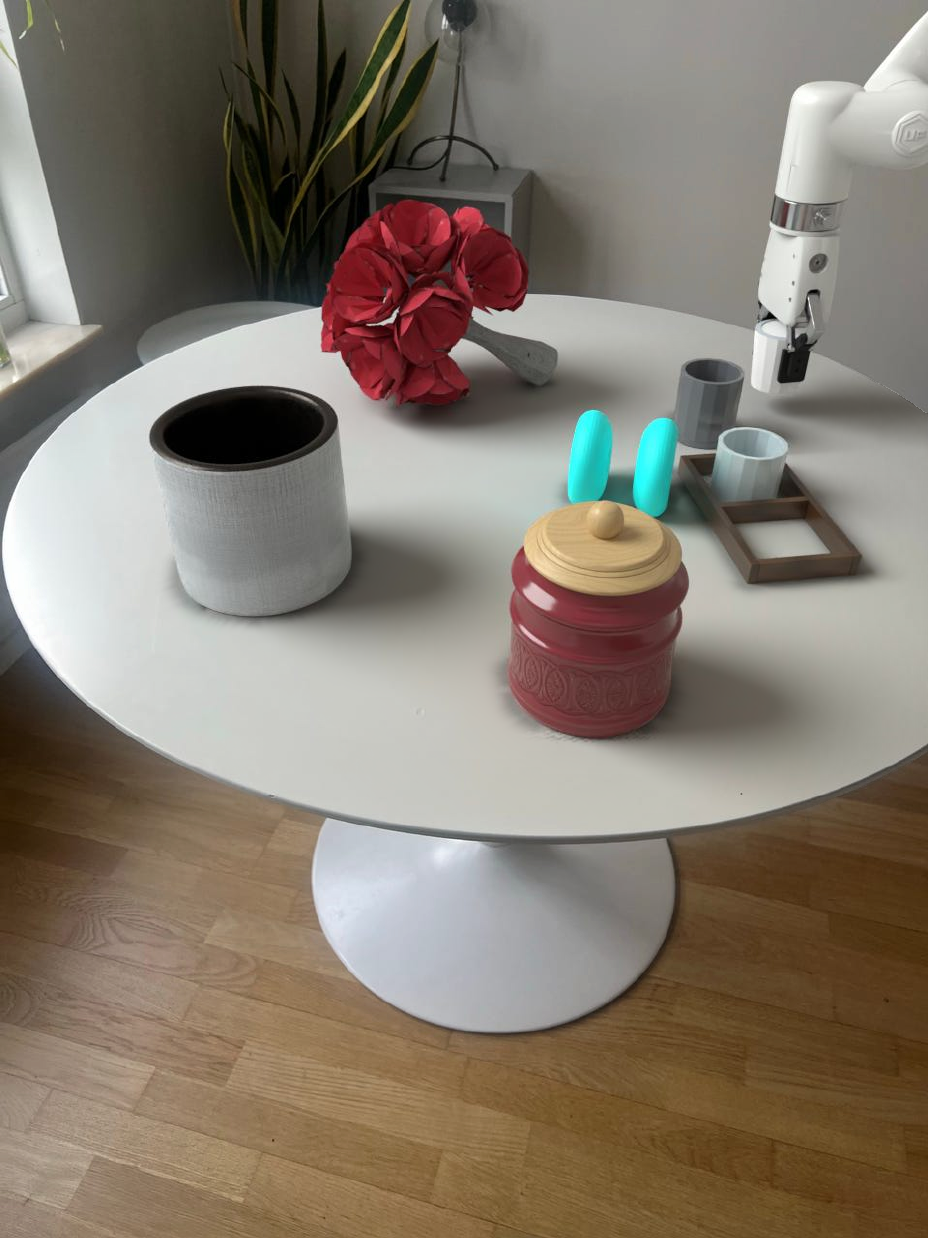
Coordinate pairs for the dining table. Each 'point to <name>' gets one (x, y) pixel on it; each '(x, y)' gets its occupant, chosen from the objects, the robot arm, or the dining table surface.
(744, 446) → the glass
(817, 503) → the glass rack
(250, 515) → the planter
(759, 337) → the white cup
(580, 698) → the kitchen canister
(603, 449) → the cyan rounded forked piece
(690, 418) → the grey cup
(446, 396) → the bouquet
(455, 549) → the dining table surface
